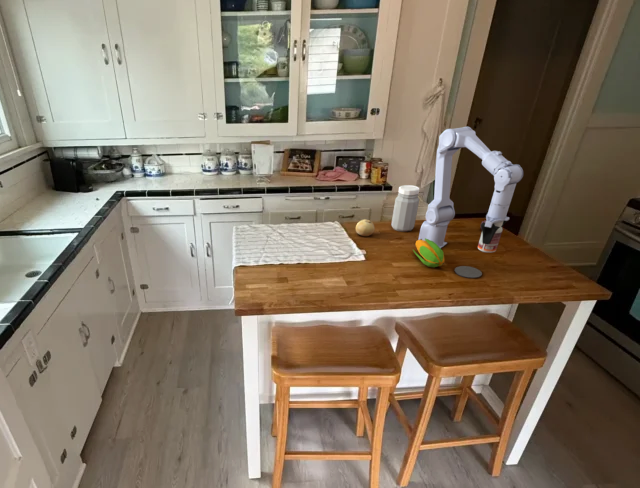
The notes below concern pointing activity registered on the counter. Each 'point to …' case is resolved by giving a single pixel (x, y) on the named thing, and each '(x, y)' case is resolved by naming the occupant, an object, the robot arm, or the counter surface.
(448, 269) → the counter surface
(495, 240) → the pill bottle
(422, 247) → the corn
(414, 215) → the jar
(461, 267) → the coaster
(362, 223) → the onion
